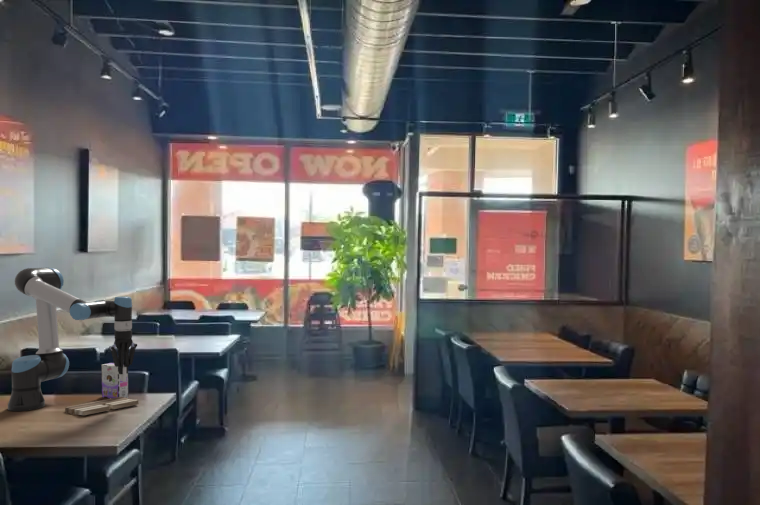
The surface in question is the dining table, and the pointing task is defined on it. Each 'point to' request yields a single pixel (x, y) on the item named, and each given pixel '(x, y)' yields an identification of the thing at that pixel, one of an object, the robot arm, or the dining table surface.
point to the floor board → (92, 404)
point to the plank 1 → (92, 409)
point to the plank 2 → (122, 403)
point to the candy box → (113, 382)
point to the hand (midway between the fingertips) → (123, 381)
